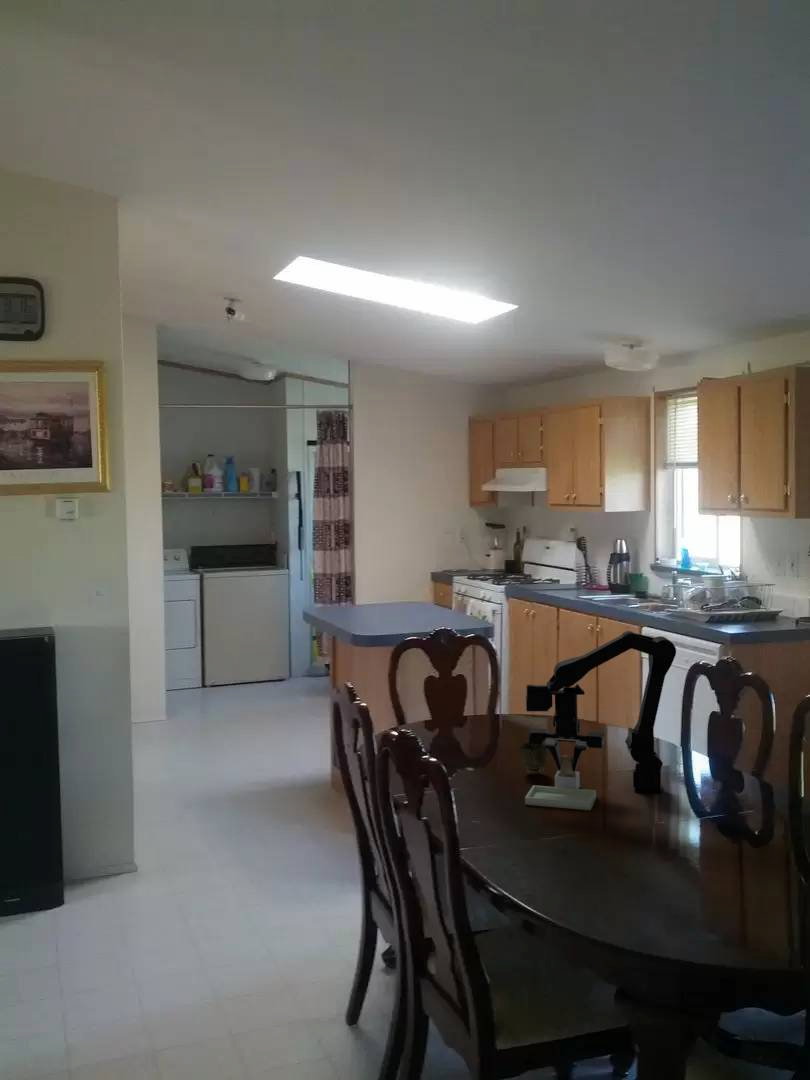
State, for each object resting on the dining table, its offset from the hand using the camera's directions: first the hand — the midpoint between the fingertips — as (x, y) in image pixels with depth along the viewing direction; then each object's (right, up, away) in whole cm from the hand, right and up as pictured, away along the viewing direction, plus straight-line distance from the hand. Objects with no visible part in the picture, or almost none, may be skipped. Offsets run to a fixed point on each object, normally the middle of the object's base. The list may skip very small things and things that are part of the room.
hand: (567, 771), depth 241 cm
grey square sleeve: (0, -5, 0) cm, 5 cm away
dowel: (0, -4, 0) cm, 4 cm away
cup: (-7, -5, +14) cm, 16 cm away
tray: (-3, -5, -9) cm, 11 cm away
